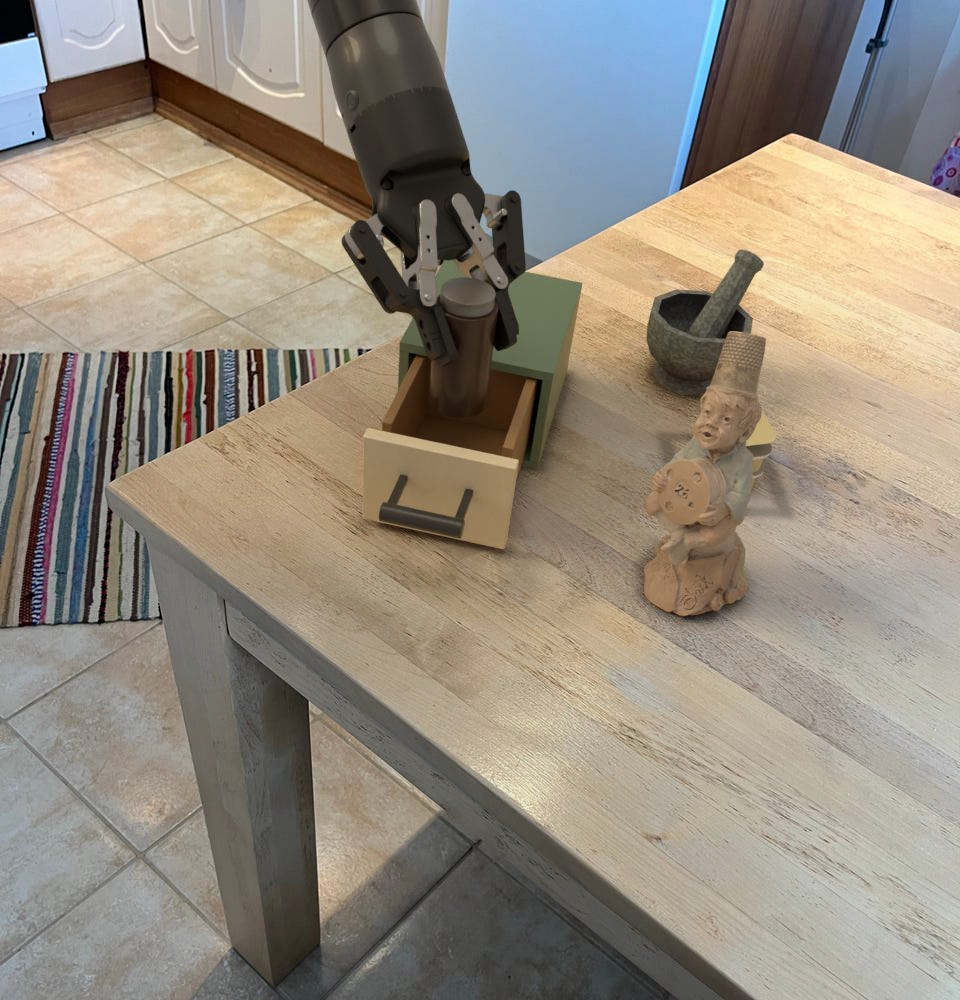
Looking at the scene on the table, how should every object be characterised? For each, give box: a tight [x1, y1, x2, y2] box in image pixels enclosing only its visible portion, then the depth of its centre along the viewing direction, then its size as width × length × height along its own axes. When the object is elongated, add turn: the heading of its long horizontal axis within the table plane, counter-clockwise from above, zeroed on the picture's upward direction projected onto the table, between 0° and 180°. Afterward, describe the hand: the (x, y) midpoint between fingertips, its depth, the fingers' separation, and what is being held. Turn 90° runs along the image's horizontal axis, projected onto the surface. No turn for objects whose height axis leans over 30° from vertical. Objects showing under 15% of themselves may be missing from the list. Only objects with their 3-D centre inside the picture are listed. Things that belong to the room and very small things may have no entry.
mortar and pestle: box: [645, 249, 765, 397], centre depth 92 cm, size 11×9×12 cm
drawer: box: [361, 354, 539, 550], centre depth 76 cm, size 19×11×8 cm, turn 167°
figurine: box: [643, 331, 767, 617], centre depth 69 cm, size 9×8×20 cm
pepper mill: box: [429, 277, 498, 418], centre depth 71 cm, size 4×4×9 cm
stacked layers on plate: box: [746, 409, 777, 490], centre depth 84 cm, size 10×9×6 cm
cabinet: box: [397, 260, 583, 470], centre depth 86 cm, size 16×13×10 cm
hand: (477, 354), depth 69 cm, fingers closed on pepper mill, 4 cm apart
